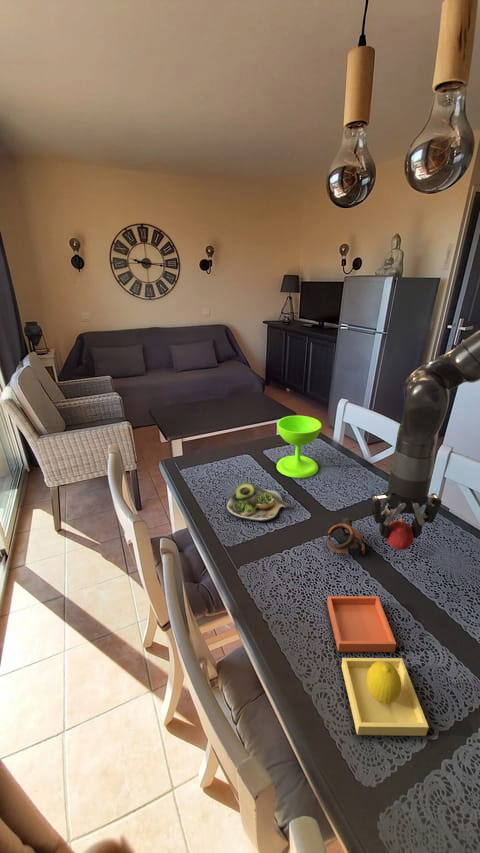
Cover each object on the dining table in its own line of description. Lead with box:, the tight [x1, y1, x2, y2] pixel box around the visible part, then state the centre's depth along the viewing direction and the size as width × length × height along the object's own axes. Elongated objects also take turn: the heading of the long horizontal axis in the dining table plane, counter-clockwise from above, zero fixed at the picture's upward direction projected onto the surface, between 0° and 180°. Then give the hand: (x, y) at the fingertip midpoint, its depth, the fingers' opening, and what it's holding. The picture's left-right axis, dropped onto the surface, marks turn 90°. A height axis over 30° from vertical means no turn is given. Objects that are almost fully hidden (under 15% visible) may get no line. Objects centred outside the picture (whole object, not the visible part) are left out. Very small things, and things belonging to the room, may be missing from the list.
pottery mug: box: [326, 517, 366, 556], centre depth 98 cm, size 12×10×8 cm
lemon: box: [367, 661, 401, 704], centre depth 63 cm, size 6×6×8 cm
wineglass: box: [276, 415, 322, 479], centre depth 135 cm, size 16×16×18 cm
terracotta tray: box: [326, 595, 397, 653], centre depth 77 cm, size 11×11×2 cm
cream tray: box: [341, 657, 430, 737], centre depth 64 cm, size 11×11×2 cm
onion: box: [385, 517, 415, 551], centre depth 79 cm, size 6×6×8 cm
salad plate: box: [225, 482, 290, 522], centre depth 116 cm, size 19×18×5 cm
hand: (399, 535), depth 79 cm, fingers closed on onion, 5 cm apart
